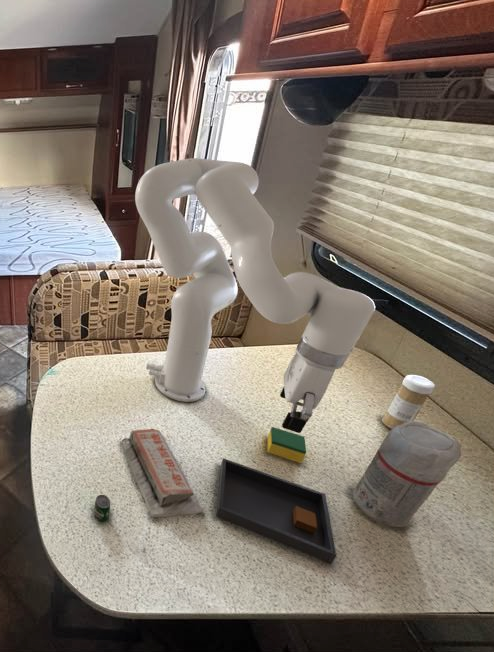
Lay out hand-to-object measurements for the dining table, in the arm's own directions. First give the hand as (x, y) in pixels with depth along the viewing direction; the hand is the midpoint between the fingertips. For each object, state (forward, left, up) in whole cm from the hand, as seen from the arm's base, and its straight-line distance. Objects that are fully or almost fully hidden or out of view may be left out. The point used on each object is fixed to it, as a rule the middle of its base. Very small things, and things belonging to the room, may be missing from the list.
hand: (289, 413), depth 79 cm
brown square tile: (+3, -19, -9) cm, 21 cm away
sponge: (+1, -2, -9) cm, 9 cm away
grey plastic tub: (+16, -9, -9) cm, 20 cm away
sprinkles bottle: (+24, +18, -9) cm, 31 cm away
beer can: (-30, -34, -9) cm, 47 cm away
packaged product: (-22, -21, -9) cm, 32 cm away
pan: (-2, -19, -9) cm, 21 cm away
